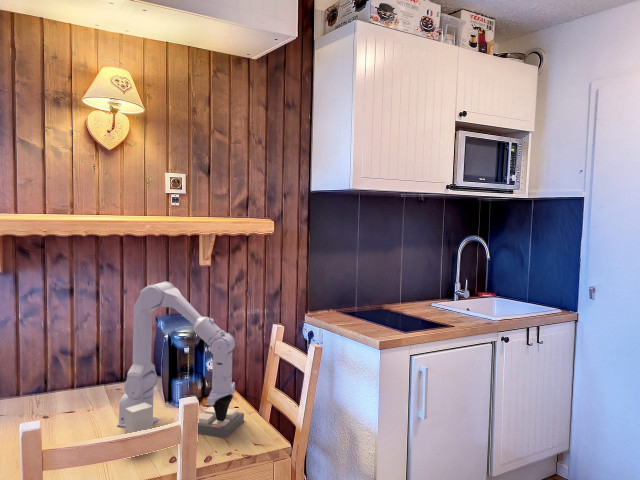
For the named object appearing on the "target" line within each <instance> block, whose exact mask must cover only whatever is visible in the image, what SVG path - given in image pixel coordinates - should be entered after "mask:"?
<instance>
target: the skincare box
mask: <svg viewBox="0 0 640 480" xmlns="http://www.w3.org/2000/svg"><path fill="white" fill-rule="evenodd" d="M153 417H154V405H153V406H151V405H149V404H147V403H145V402H144V403H141V404H138V405H135V406H132V407H128V408H125V427H124V435H125V434H127V433H132V432H137V431H141V430H147V429H152V428H153V429H154V423H153Z"/></svg>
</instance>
